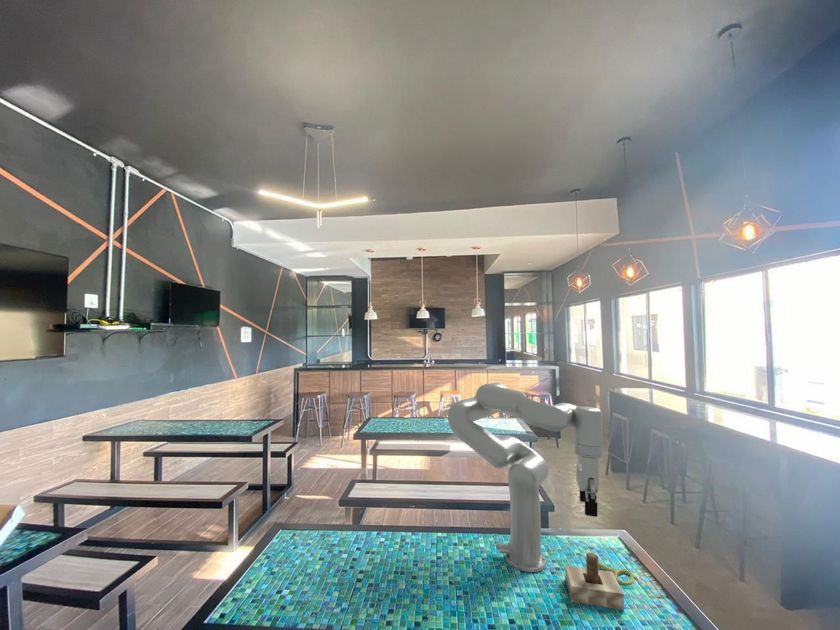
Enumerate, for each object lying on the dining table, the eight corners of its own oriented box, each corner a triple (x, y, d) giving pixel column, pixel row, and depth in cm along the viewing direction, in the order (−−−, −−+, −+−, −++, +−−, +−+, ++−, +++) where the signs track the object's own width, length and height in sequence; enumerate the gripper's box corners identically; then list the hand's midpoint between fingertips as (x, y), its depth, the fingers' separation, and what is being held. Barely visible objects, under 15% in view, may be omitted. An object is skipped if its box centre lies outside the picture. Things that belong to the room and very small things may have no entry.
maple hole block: (571, 601, 100) (571, 586, 101) (565, 579, 110) (565, 565, 110) (624, 610, 98) (623, 593, 98) (613, 586, 107) (612, 571, 108)
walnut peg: (588, 595, 103) (587, 558, 103) (586, 588, 106) (585, 552, 106) (600, 597, 102) (599, 559, 103) (597, 590, 105) (596, 553, 106)
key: (589, 564, 119) (589, 557, 119) (633, 576, 113) (633, 569, 113) (587, 576, 113) (587, 569, 113) (634, 589, 107) (634, 582, 107)
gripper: (571, 440, 120) (570, 495, 119) (578, 456, 104) (578, 519, 102) (596, 443, 118) (596, 498, 117) (608, 459, 102) (608, 524, 100)
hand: (588, 508), depth 110 cm, fingers open, 9 cm apart
